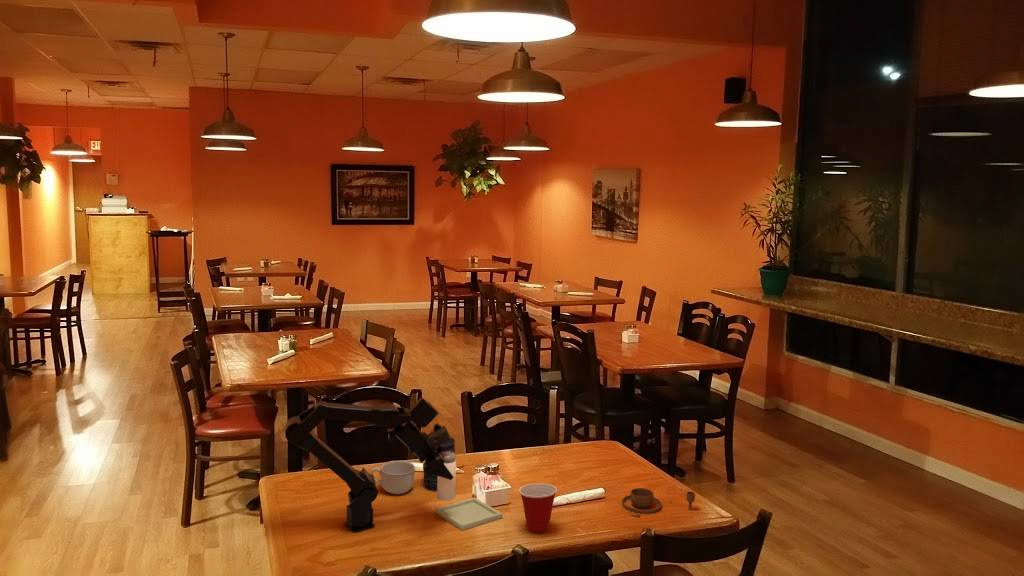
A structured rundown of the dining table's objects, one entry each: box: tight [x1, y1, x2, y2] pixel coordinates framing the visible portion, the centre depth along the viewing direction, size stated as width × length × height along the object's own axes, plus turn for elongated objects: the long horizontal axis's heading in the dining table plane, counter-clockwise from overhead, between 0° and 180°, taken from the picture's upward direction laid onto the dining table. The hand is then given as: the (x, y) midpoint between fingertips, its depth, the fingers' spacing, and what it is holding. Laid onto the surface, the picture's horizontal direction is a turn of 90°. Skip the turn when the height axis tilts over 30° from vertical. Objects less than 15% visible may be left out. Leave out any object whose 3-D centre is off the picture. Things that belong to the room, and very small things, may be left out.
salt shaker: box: [436, 451, 457, 502], centre depth 222 cm, size 5×5×13 cm
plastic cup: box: [518, 482, 558, 534], centre depth 218 cm, size 11×11×12 cm
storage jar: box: [423, 436, 456, 493], centre depth 247 cm, size 10×10×15 cm
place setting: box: [621, 487, 696, 518], centre depth 234 cm, size 18×20×6 cm
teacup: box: [369, 460, 416, 495], centre depth 243 cm, size 14×11×8 cm
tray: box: [435, 497, 503, 532], centre depth 226 cm, size 14×14×2 cm
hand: (451, 474), depth 222 cm, fingers closed on salt shaker, 5 cm apart
